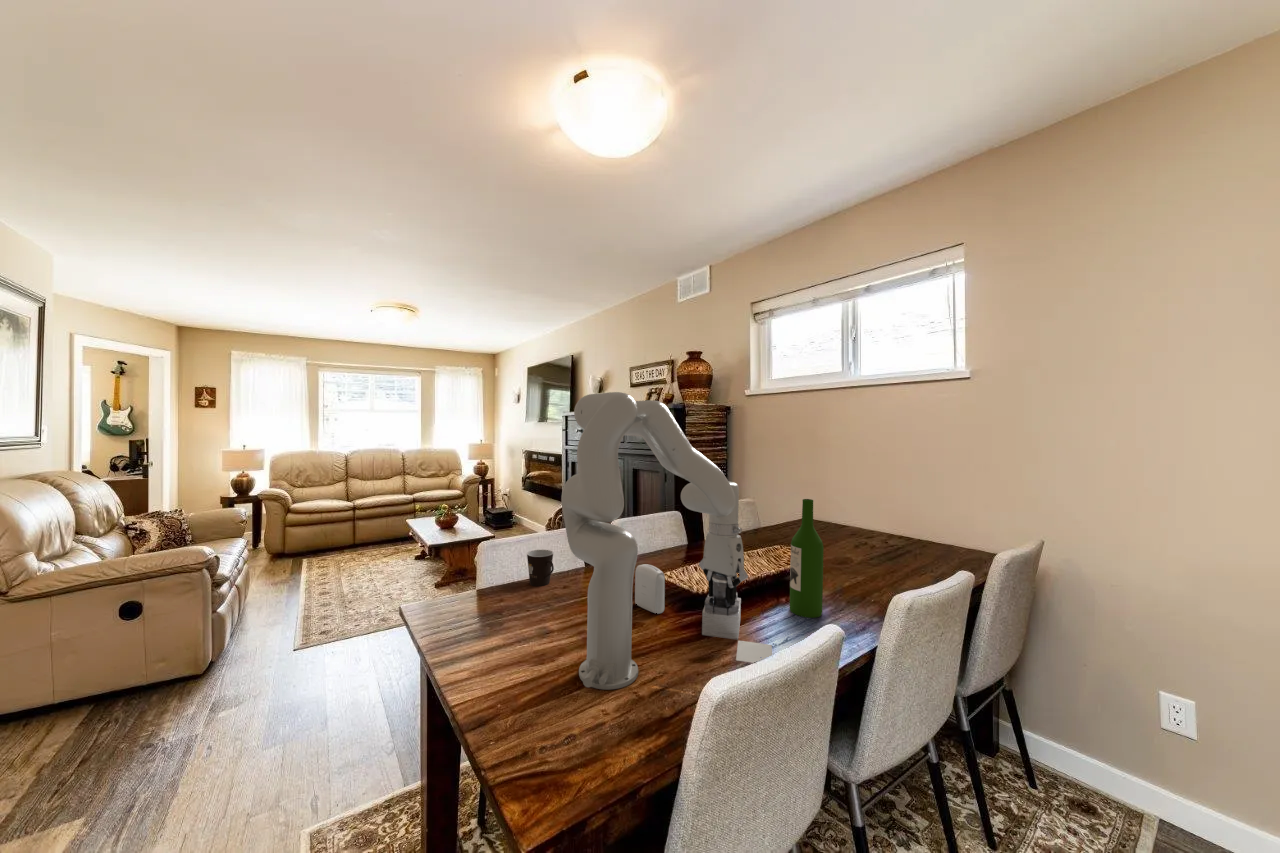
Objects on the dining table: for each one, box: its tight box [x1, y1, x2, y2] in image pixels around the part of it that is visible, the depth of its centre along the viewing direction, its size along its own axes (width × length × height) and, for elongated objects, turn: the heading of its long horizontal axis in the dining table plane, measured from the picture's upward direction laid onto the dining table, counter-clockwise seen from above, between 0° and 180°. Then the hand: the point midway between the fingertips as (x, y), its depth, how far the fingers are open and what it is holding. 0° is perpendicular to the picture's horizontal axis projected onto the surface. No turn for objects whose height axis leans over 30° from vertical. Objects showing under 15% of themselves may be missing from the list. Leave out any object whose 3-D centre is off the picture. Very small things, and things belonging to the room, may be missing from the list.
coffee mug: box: [526, 549, 554, 587], centre depth 152 cm, size 12×9×10 cm
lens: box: [712, 572, 733, 607], centre depth 120 cm, size 5×5×8 cm
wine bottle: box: [789, 498, 825, 619], centre depth 134 cm, size 9×9×32 cm
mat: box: [735, 639, 773, 664], centre depth 108 cm, size 10×8×1 cm
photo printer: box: [634, 563, 666, 615], centre depth 134 cm, size 10×4×12 cm, turn 39°
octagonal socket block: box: [701, 591, 742, 641], centre depth 122 cm, size 13×9×8 cm
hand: (721, 597), depth 120 cm, fingers closed on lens, 4 cm apart
